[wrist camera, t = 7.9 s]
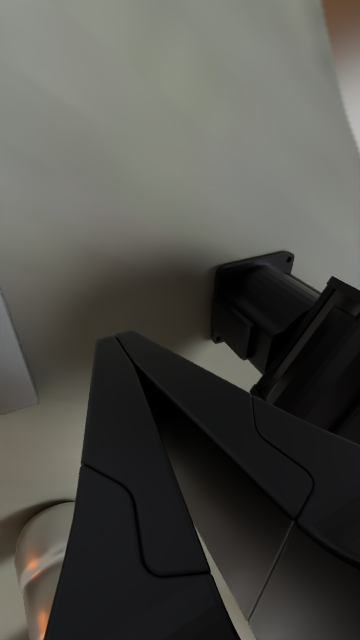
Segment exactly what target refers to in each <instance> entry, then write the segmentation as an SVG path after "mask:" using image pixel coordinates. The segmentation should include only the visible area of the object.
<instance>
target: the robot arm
mask: <svg viewBox="0 0 360 640" xmlns="http://www.w3.org/2000/svg"><path fill="white" fill-rule="evenodd" d="M293 261H294V254H292V253H291V252H289V251H286V252H281V253H277V254H272V255H268V256H263V257H259V258H254V259H250V260H245V261H241V262H236V263H231V264H227V265H223V266H220V267H219V268H218V270H217V272H216V280H215V292H214V298H213V305H212V317H211V340H212V341H213V342H214V343H215V344H218V343H221V342H225V343H226V344H227V345H228V346H229V347H230V348H231V349H232V350H233V351H234V352H235V353H236V354H237V355H238V356H239V357H240V358H241V359H242V360H247V359H248V360H249V361H250V362H251V363H252V364H253V365H254V366H255V367H256V369H257V370H258V371H259V372H260V373H261V374H262V377H261V378H260V379H259V381H258V382H257V384H254V385H253V387H252V388H251V390H250V393H251V394H250V393H249V392H247V391H245V390H243V389H241V388H239V387H237V386H236V385H234V384H232V383H230V382H228V381H226V380H224V379H222V378H221V377H219V376H217V375H215V374H213V373H211V372H209V371H207V370H206V369H204V368H202V367H200V366H198V365H196V364H194V363H193V362H191V361H189V360H187V359H185V358H183V357H181V356H179V355H178V354H176V353H174V352H172V351H170V350H168V349H166V348H165V347H163V346H161V345H159V344H157V343H155V342H153V341H151V340H150V339H148V338H146V337H144V336H142V335H140V334H138V333H137V332H135V331H132V330H129V331H125V332H122V333H118V334H116V335H115V336H112V335H111V336H107V337H103V338H100V339H97V340H96V345H95V353H94V361H93V369H92V377H91V385H90V393H89V401H88V409H87V417H86V425H85V434H84V442H83V450H82V458H81V467H80V472H79V480H78V487H77V494H76V500H75V506H74V512H73V519H72V524H71V528H70V533H69V537H68V542H67V546H66V551H65V555H64V560H63V564H62V568H61V572H60V576H59V580H58V583H57V587H56V591H55V595H54V599H53V603H52V607H51V611H50V615H49V619H48V623H47V627H46V631H45V635H44V638H43V640H241V639H240V637H239V635H238V633H237V631H236V629H235V628H234V625H233V623H232V621H231V619H230V617H229V614H228V612H227V610H226V608H225V605H224V603H223V601H222V598H221V596H220V593H219V591H218V588H217V586H216V583H215V581H214V578H213V576H212V575H211V574H210V573H211V570H210V567H209V564H208V561H207V559H206V556H205V553H204V551H203V548H202V545H201V543H200V540H199V537H198V535H197V532H196V529H195V527H196V528H197V530H198V532H199V534H200V536H201V538H202V540H203V541H204V543H205V545H206V547H207V549H208V551H209V553H210V554H211V556H212V558H213V560H214V562H215V564H216V566H217V567H218V569H219V571H220V573H221V575H222V577H223V579H224V580H225V582H226V584H227V586H228V588H229V590H230V592H231V593H232V595H233V597H234V599H235V601H236V603H237V604H238V606H239V608H240V610H241V612H242V614H243V615H244V617H245V619H246V621H248V625H249V627H250V629H251V631H252V633H253V634H254V636H255V638H256V640H360V290H358V289H356V288H354V287H352V286H350V285H348V284H346V283H344V282H343V281H341V280H339V279H337V278H335V277H333V276H332V277H331V278H330V279H329V281H328V282H327V286H326V288H325V289H324V290H323V292H322V293H321V292H319V291H318V290H316V289H314V288H313V287H311V286H309V285H308V284H306V283H305V282H303V281H301V280H300V279H298V278H296V277H295V276H293V275H292V274H291V270H292V266H293ZM224 272H225V274H224V275H222V274H223V273H224ZM251 395H252V396H251ZM193 523H194V524H193ZM194 525H195V527H194Z"/></svg>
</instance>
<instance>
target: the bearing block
mask: <svg viewBox="0 0 360 640" xmlns="http://www.w3.org/2000/svg"><path fill="white" fill-rule="evenodd" d="M37 403H39V401H38V395H37V391H36V388H35V385H34V382H33V379H32V377H31V374H30V371H29V368H28V365H27V362H26V360H25V357H24V354H23V351H22V348H21V345H20V343H19V340H18V337H17V334H16V331H15V328H14V326H13V323H12V320H11V317H10V314H9V312H8V309H7V306H6V303H5V300H4V297H3V295H2V292H1V289H0V415H3V414H6V413H10V412H13V411H16V410H19V409H22V408H25V407H28V406H31V405H34V404H37Z"/></svg>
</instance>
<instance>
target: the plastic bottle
mask: <svg viewBox="0 0 360 640" xmlns="http://www.w3.org/2000/svg"><path fill="white" fill-rule="evenodd" d="M74 506H75V502H67V503H62V504H58V505H55V506H52V507H50V508H47V509H45V510H43V511H41V512H40V513H38V514H36V515H35V516H34V517H32V518H31V519H30V520H29V521H28V522H27V523H26V524H25V526H24V527H23V529H22V531H21V533H20V535H19V536H18V539H17V542H16V551H15V560H14V565H15V569H16V574H17V579H18V583H19V586H20V590H21V592H22V594H23V600H24V607H25V613H26V620H27V626H28V632H29V639H30V640H43V638H44V635H45V631H46V627H47V623H48V619H49V615H50V611H51V607H52V603H53V599H54V595H55V591H56V587H57V583H58V580H59V576H60V572H61V568H62V564H63V560H64V555H65V551H66V546H67V542H68V537H69V533H70V528H71V524H72V519H73V512H74Z"/></svg>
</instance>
